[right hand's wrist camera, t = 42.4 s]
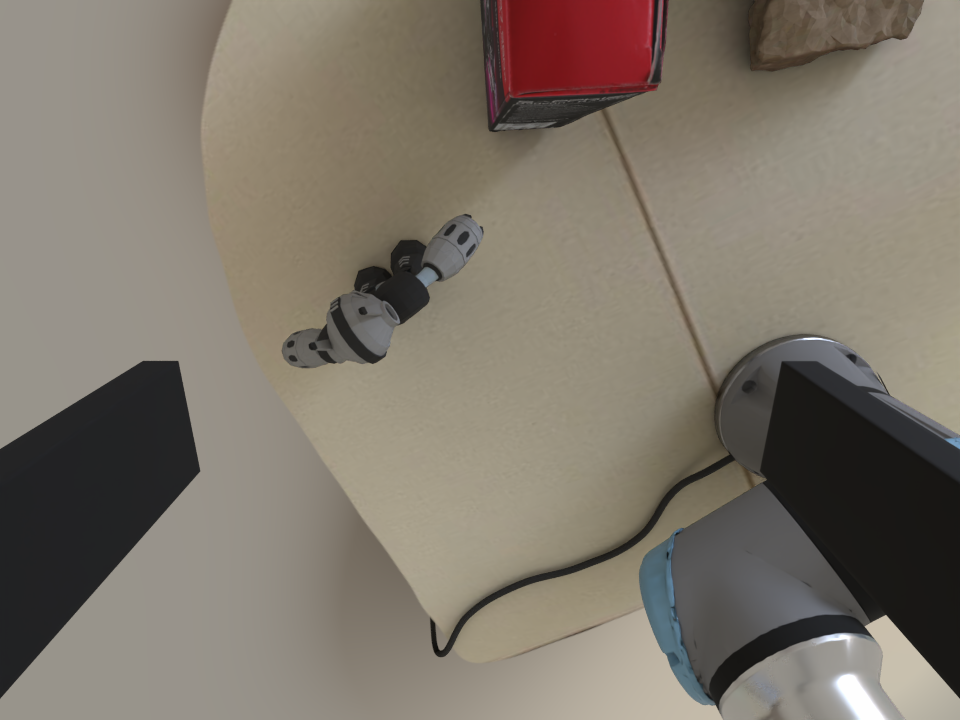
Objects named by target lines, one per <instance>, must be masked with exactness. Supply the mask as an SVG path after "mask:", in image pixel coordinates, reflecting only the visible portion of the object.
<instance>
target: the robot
mask: <svg viewBox="0 0 960 720" xmlns="http://www.w3.org/2000/svg"><path fill="white" fill-rule="evenodd" d="M471 218H472V217H471V215H468V214H464V215H460V216H457V217H455V218H453V219H452V220H450V221H448V222H447V223H446V224H445V225H444V226H443V227H442V228H441V230H440V231H439V232H438V233H437V234H436V235H435V236H434V237H433V238H432V240H431V241H430V243H429V244H428V246H427V247H426V246H424V245H423V244H422V243H420V242H419V241H417V240H401V241H400V242H399V243H398V245H397V246H396V248H395V249H394V250H393V252H392V253H391V270H392V272H393V274H394V276H391V274H390V273H389V272H388V271H387V270H386V269H383V268H379V267H375V266H372V267H369V268H366V269H363V270H360V271H359V272H358V275H357V278H356V281H355V284H354V287H355V290H353V291H352V292H350V293H349V294H344V295H342V296H340V297H338V298H336V299H335V300H334V301H332V302H331V305H330V309H329V311H328V313H327V319H326V321H327V324H326V325H325V327H324V328H323V329H322V330H321V329H313V328H311V329H306V330H302V331H298V332H295V333H293V334H291V335H290V336H289V338H288V339H287V340H286V341H285V342H284V343H283V347H282V354H283V357H284V359H285V360H286V361H287V362H288V363H289V364H290V365H292V366H295V367H300V368H315V367H318V366H321V365H325V364H327V363H334V364H335V363H343V362H344V361H346V360H348V361H354V362H357V363H360V364H364V363H372V364H374V363H376V362H378V361H380V360H381V359H383V358H384V357H385V356H386V353H387V349H388V348H389V346H390V339H391V336H392V333H393V330H394V327H395V326H397V325H401V324H403V323H405V322H406V321H407V320H408V319H409V318H411V317H412V316H413V315H415V314H416V313H417V312H419V311H420V310H421V309H422V308H423V307H425V306H426V305H427V304H428V302H429V299H430V297H429V294H428V291H427V289H426V287H428V286H429V285H430V284H432V283H433V282H434V281H439V282H441V281H445V280H446V279H448V278H450V277H452V276H454V275H455V274H457V273H458V272H459V271H460V270H461V269H462V268H463V267H464V266H465V264H466V263H467V262H468V260H469V259H470V258H471V256H472V255H473V254H474V253H475V251H476V250H477V248H478V246H479V244H480V242H481V240H482V238H483V233H484V231H483V227H481V226H480V227H479V225H478V224H477V223H476V222H475V221H474V220H472V219H471Z"/></svg>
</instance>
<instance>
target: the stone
mask: <svg viewBox="0 0 960 720" xmlns="http://www.w3.org/2000/svg"><path fill="white" fill-rule="evenodd" d="M923 2H924V0H755V2H754V4H753V5H752V7H751V8H750V10H749V17H748V22H749V25H750V28H751V29H750V32H749V41H750V58H751V65H750V68H751V70H752V71H753V70H767V71H775V70H780V69H784V68H787V67H792V66H799V65H804V64H806V63H810V62H811V61H813V60H815V59H816V58H818V57H819V56H822V55H825V54H827V53H829V52H833V51H837V50H850V49H853V50H858V49H866V48H867V47H868V46H869V45H872V44H876V43H878V42H880V41H882V40H887V39H890V38H892V37H893V38H896V39H899V40H902V39H905V38H907V37H908V36H909V34H910V32H911V30H912V28H913V26H914V23H915V21H916V20H917V18H918V17H919V15H920V14H921V9H922V5H923Z"/></svg>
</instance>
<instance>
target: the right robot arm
mask: <svg viewBox="0 0 960 720" xmlns="http://www.w3.org/2000/svg"><path fill="white" fill-rule="evenodd" d="M876 372H877V371H876ZM877 374H878V373H877ZM878 376H879V374H878ZM879 377H880V376H879ZM880 379H881V377H880ZM881 381H882V379H881ZM882 383H883V381H882ZM883 385H884V383H883ZM883 385H882V384H881V382H880V381H879V379H878V378H877V376H876V375H875V373H874V372H873V370H872V369H871V367H870V366H869V365H868V363H867V362H866V361H865V360H864V359H863V358H862V357H860V356H859V355H858V354H857V353H856V352H855V351H853V350H852V349H850V348H849V347H847V346H845V345H843V344H841V343H839V342H837V341H835V340H833V339H830V338H827V337H823V336H818V335H809V334H802V335H792V336H787V337H782V338H779V339H776V340H773V341H771V342H768V343H766V344H764V345H762V346H760V347H758V348H757V349H755V350H754V351H752V352H751V353H749V354H748V355H747V356H745V357H744V358H743V359H742V360H741V361H740V362H739V363H738V364H737V365H736V366H735V367H734V368H733V369H732V371H731V372H730V373H729V375H728V376H727V378H726V379H725V381H724V383H723V384H722V386H721V389H720V391H719V394H718V397H717V400H716V405H715V426H716V431H717V434H718V436H719V439H720V441H721V443H722V444H723V446H724V447H725V448H726V450H727V451H728V452H729V453H730V455H728V456H727V457H725V458H723V459H721V460H720V461H718V462H716V463H714V464H713V465H711V466H709V467H707V468H705V469H704V470H702V471H700V472H697V473H695V474H693V475H691V476H689V477H687V478H685V479H683V480H681V481H680V482H679V483H677V484H676V485H675V486H674V487H673V488H672V489H671V490H670V491H669V492H668V493H667V494H666V496H665V497H664V498H663V500H662V501H661V503H660V504H659V506H658V508H657V509H656V511H655V513H654V515H653V516H652V518H651V519H650V521H649V522H648V524H647V525H646V526H645V528H644V529H643V530H642V531H641V532H640V533H638V534H637V535H636V536H635V537H634V538H632V539H631V540H629V541H628V542H627V543H625V544H623V545H622V546H620V547H618V548H616V549H614V550H612V551H610V552H608V553H605V554H603V555H601V556H598V557H595V558H593V559H590V560H587V561H585V562H582V563H580V564H577V565H574V566H571V567H568V568H565V569H561V570H557V571H553V572H548V573H544V574H540V575H536V576H532V577H529V578H526V579H523V580H521V581H518V582H516V583H514V584H511V585H509V586H507V587H505V588H503V589H501V590H499V591H497V592H495V593H493V594H491V595H490V596H488V597H486V598H485V599H483V600H482V601H480V602H479V603H478V604H476V605H475V606H474V607H473V608H471V609H470V610H469V611H468V612H467V613H466V614H465V615H464V616H463V617H462V618H461V619H460V621H459V622H458V624H457V625H456V627H455V629H454V631H453V633H452V635H451V637H450V639H449V641H448V643H447V645H446V647H445V648H444V649H443V650H442V651H440V650H439V648H438V644H437V637H436V625H435V622H434V621H433V619H432V618H431V617H430V628H431V641H432V647H433V651H434V653H435V654H436V655H437V656H438V657H444V656H446V655H447V654H448V653H449V651H450V650H451V648H452V647H453V645H454V643H455V640H456V638H457V636H458V634H459V632H460V631H461V629H462V627H463V626H464V624H465V623H466V621H467V620H468V619H469V618H470V617H471V616H472V615H474V614H475V613H476V612H477V611H478V610H480V609H481V608H482V607H484V606H485V605H487V604H488V603H490V602H492V601H493V600H495V599H497V598H499V597H501V596H503V595H505V594H507V593H509V592H512V591H514V590H516V589H518V588H521V587H523V586H526V585H529V584H532V583H535V582H539V581H543V580H547V579H552V578H556V577H560V576H564V575H568V574H571V573H574V572H577V571H580V570H582V569H585V568H588V567H590V566H593V565H596V564H598V563H601V562H603V561H606V560H608V559H611V558H613V557H615V556H617V555H619V554H621V553H623V552H625V551H626V550H628V549H630V548H631V547H633V546H634V545H635V544H637V543H638V542H639V541H641V540H642V539H643V538H644V537H645V536H646V535H647V534H648V533H649V532H650V531H651V529H652V528H653V527H654V525H655V524H656V522H657V521H658V519H659V518H660V516H661V514H662V512H663V511H664V509H665V507H666V506H667V504H668V503H669V501H670V500H671V499H672V498H673V497H674V496H675V494H676V493H678V492H679V491H680V490H681V489H682V488H684V487H685V486H687V485H688V484H690V483H692V482H694V481H697V480H699V479H701V478H703V477H705V476H707V475H709V474H711V473H713V472H715V471H716V470H718V469H720V468H722V467H724V466H725V465H727V464H729V463H731V462H732V461H734V460H736V461H737V462H738V463H739V464H741V465H742V466H743V467H745V468H746V469H747V470H749V471H751V472H752V473H754V474H756V475H759V476H761V477H763V478H766V479H767V480H766V481H764V482H762V483H760V484H758V485H757V486H755V487H753V488H752V489H750V490H748V491H747V492H745V493H743V494H742V495H740V496H738V497H737V498H735V499H733V500H732V501H730V502H728V503H727V504H725V505H723V506H722V507H720V508H718V509H717V510H715V511H713V512H712V513H710V514H708V515H707V516H705V517H703V518H702V519H700V520H698V521H697V522H695V523H693V524H692V525H690V526H688V527H687V528H685V529H684V528H680V529H678V530H676V531H675V532H674V533H673V534H672V535H671V537H670V538H669V539H667V540H666V541H664V542H663V543H661V544H659V545H658V546H656V547H655V548H653V549H652V550H651V551H649V552H648V553H647V554H646V555H645V557H644V558H643V561H642V565H641V566H640V571H639V583H640V590H641V595H642V600H643V603H644V607H645V610H646V613H647V616H648V619H649V622H650V625H651V627H652V630H653V633H654V635H655V637H656V640H657V642H658V644H659V646H660V648H661V650H662V652H663V653H665V654H666V655H667V658H668V661H669V664H670V667H671V669H672V671H673V673H674V675H675V676H676V678H677V679H678V681H679V683H680V684H681V685H682V687H683V688H684V689H685V691H686V692H687V693H688V694H689V695H690V696H691V697H692V698H693V699H694V700H695V701H697V702H699V703H700V704H702V705H716V706H717V708H718V710H719V712H720V714H721V716H722V718H723V720H906V719H905V718H904V717H903V715H902V714H901V713H900V711H899V710H898V709H897V707H896V706H895V705H894V703H893V702H892V701H891V699H890V698H889V697H888V695H887V694H886V693H885V691H884V690H883V689H882V687H881V684H880V674H881V666H882V658H883V654H882V650H881V647H880V646H879V644H878V643H877V642H876V641H875V639H874V638H873V637H872V635H871V634H870V633H869V632H868V630H867V629H866V628H865V627H864V626H866V625H868V624H869V623H871V622H873V621H875V620H877V619H879V618H881V617H882V616H884V615H887V616H888V617H889V619H890V620H891V621H892V622H893V623H894V624H895V625H896V627H897V628H898V629H899V630H900V631H901V632H902V633H903V635H904V636H905V637H906V638H907V639H908V640H909V641H910V642H911V644H912V645H913V646H914V647H915V648H916V649H917V650H918V652H919V653H920V654H921V655H922V656H923V657H924V658H925V660H926V661H927V662H928V663H929V664H930V665H931V666H932V667H933V669H934V670H935V671H936V672H937V673H938V674H939V675H940V677H941V678H942V679H943V680H944V681H945V682H946V683H947V685H948V686H949V687H950V688H951V689H952V690H953V691H954V692H955V694H956V695H957V696H958V697H959V698H960V435H958V434H956V433H955V432H953V431H951V430H949V429H948V428H946V427H944V426H942V425H941V424H939V423H937V422H935V421H934V420H932V419H930V418H928V417H927V416H925V415H923V414H922V413H920V412H918V411H916V410H915V409H913V408H911V407H909V406H908V405H906V404H904V403H902V402H901V401H899V400H897V399H895V398H894V397H892V396H890V395H889V393H888V391H887V389H886V387H885V385H884V387H885V388H884V387H883ZM885 389H886V390H885ZM199 472H200V467H199V462H198V457H197V452H196V447H195V442H194V437H193V432H192V427H191V422H190V417H189V412H188V407H187V402H186V397H185V392H184V387H183V382H182V377H181V372H180V367H179V362H178V361H142V362H141V363H139V364H137V365H136V366H134V367H133V368H131V369H129V370H128V371H126V372H125V373H123V374H121V375H120V376H118V377H116V378H115V379H113V380H111V381H110V382H108V383H107V384H105V385H103V386H102V387H100V388H99V389H97V390H95V391H94V392H92V393H90V394H89V395H87V396H86V397H84V398H82V399H81V400H79V401H77V402H76V403H74V404H73V405H71V406H69V407H68V408H66V409H64V410H63V411H61V412H60V413H58V414H56V415H55V416H53V417H51V418H50V419H48V420H47V421H45V422H43V423H42V424H40V425H38V426H37V427H35V428H34V429H32V430H30V431H29V432H27V433H26V434H24V435H22V436H21V437H19V438H17V439H16V440H14V441H13V442H11V443H9V444H8V445H6V446H4V447H3V448H1V449H0V698H1V697H2V696H3V695H4V694H5V692H6V691H7V690H8V689H9V688H10V687H11V686H12V685H13V683H14V682H15V681H16V680H17V679H18V678H19V676H20V675H21V674H22V673H23V672H24V671H25V670H26V669H27V667H28V666H29V665H30V664H31V663H32V662H33V661H34V659H35V658H36V657H37V656H38V655H39V654H40V653H41V652H42V650H43V649H44V648H45V647H46V646H47V645H48V644H49V642H50V641H51V640H52V639H53V638H54V637H55V636H56V635H57V633H58V632H59V631H60V630H61V629H62V628H63V627H64V625H65V624H66V623H67V622H68V621H69V620H70V619H71V617H72V616H73V615H74V614H75V613H76V612H77V611H78V610H79V608H80V607H81V606H82V605H83V604H84V603H85V602H86V600H87V599H88V598H89V597H90V596H91V595H92V594H93V592H94V591H95V590H96V589H97V588H98V587H99V586H100V585H101V583H102V582H103V581H104V580H105V579H106V578H107V577H108V575H109V574H110V573H111V572H112V571H113V570H114V569H115V567H116V566H117V565H118V564H119V563H120V562H121V561H122V559H123V558H124V557H125V556H126V555H127V554H128V553H129V552H130V550H131V549H132V548H133V547H134V546H135V545H136V544H137V542H138V541H139V540H140V539H141V538H142V537H143V536H144V535H145V533H146V532H147V531H148V530H149V529H150V528H151V527H152V525H153V524H154V523H155V522H156V521H157V520H158V519H159V517H160V516H161V515H162V514H163V513H164V512H165V511H166V510H167V508H168V507H169V506H170V505H171V504H172V503H173V502H174V500H175V499H176V498H177V497H178V496H179V495H180V494H181V492H182V491H183V490H184V489H185V488H186V487H187V486H188V485H189V483H190V482H191V481H192V480H193V479H194V478H195V477H196V475H197V474H198V473H199Z"/></svg>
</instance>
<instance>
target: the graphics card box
mask: <svg viewBox="0 0 960 720" xmlns="http://www.w3.org/2000/svg"><path fill="white" fill-rule="evenodd" d="M668 1H669V0H481V18H482V33H483V48H484V66H485V84H486V98H487V111H488V129H489V131H492V132H497V131H505V130H523V129H536V128H552V127H554V128H555V127H561V126H564V125H566V124H569V123H572V122H574V121H576V120H578V119H580V118H582V117H584V116H586V115H588V114H591V113H593V112H596V111H599V110H601V109H604V108H605V107H609V106H611V105H614V104H616V103H619V102H621V101H624V100H627V99H629V98H632V97H634V96H636V95H639V94H642V93H645V92H648V91H654V90H657V87H658V84H659V83H661V80H662V66H663V58H664V51H665V44H666V30H667V16H668Z"/></svg>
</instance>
